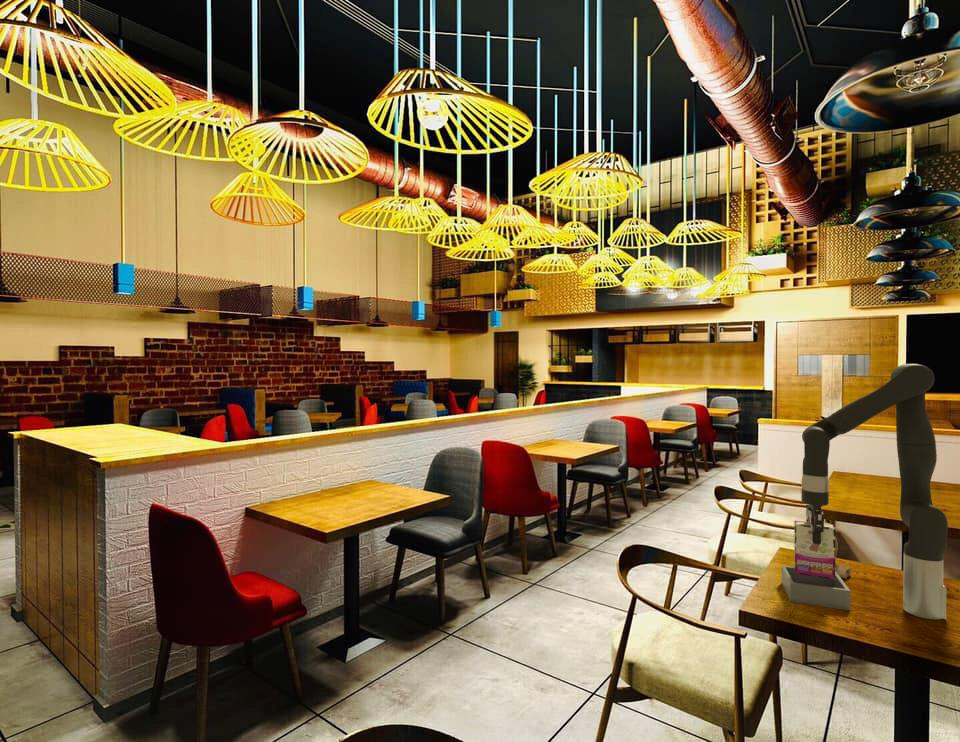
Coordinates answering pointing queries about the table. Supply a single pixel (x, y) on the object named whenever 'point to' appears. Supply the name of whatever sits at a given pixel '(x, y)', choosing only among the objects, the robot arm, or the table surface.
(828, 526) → the candy bar box
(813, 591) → the tote
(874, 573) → the table surface
